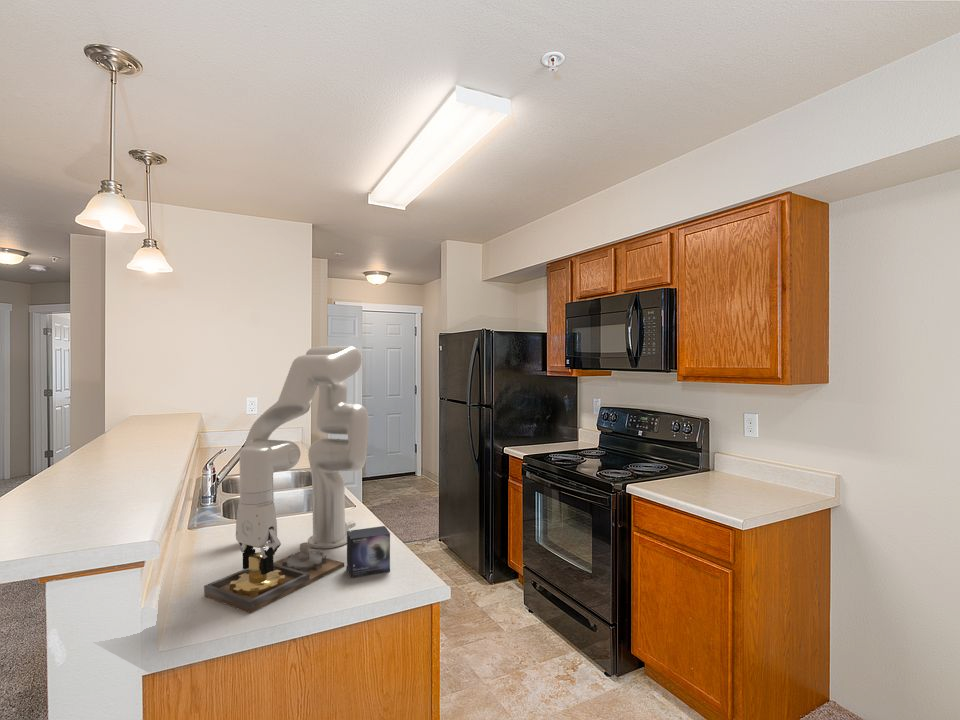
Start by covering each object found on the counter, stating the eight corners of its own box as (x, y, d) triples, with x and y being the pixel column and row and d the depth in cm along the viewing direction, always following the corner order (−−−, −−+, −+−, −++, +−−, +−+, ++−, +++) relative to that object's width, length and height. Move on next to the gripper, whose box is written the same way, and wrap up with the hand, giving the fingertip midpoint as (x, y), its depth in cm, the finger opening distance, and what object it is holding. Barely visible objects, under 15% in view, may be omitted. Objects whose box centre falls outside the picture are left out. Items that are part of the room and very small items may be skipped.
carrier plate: (300, 554, 150) (300, 532, 149) (344, 566, 141) (343, 542, 141) (204, 596, 124) (203, 569, 124) (250, 613, 116) (249, 584, 116)
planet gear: (263, 571, 136) (262, 542, 136) (295, 581, 130) (295, 551, 130) (218, 590, 125) (218, 559, 125) (252, 602, 119) (251, 569, 119)
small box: (350, 579, 133) (350, 538, 133) (346, 569, 139) (345, 530, 139) (391, 571, 138) (390, 532, 137) (385, 562, 144) (384, 525, 143)
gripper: (220, 495, 128) (222, 568, 129) (267, 505, 120) (268, 583, 120) (247, 488, 135) (248, 557, 135) (293, 497, 126) (294, 571, 126)
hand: (258, 569), depth 127 cm, fingers open, 6 cm apart
